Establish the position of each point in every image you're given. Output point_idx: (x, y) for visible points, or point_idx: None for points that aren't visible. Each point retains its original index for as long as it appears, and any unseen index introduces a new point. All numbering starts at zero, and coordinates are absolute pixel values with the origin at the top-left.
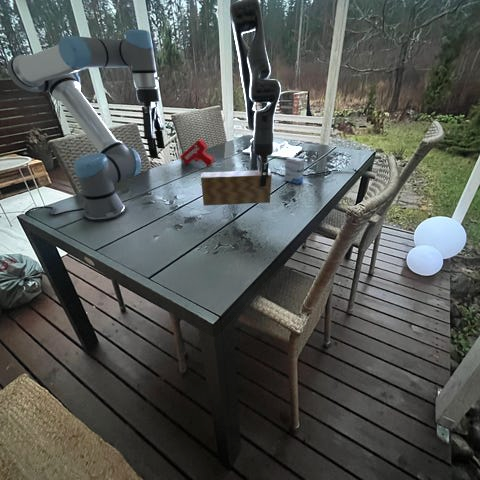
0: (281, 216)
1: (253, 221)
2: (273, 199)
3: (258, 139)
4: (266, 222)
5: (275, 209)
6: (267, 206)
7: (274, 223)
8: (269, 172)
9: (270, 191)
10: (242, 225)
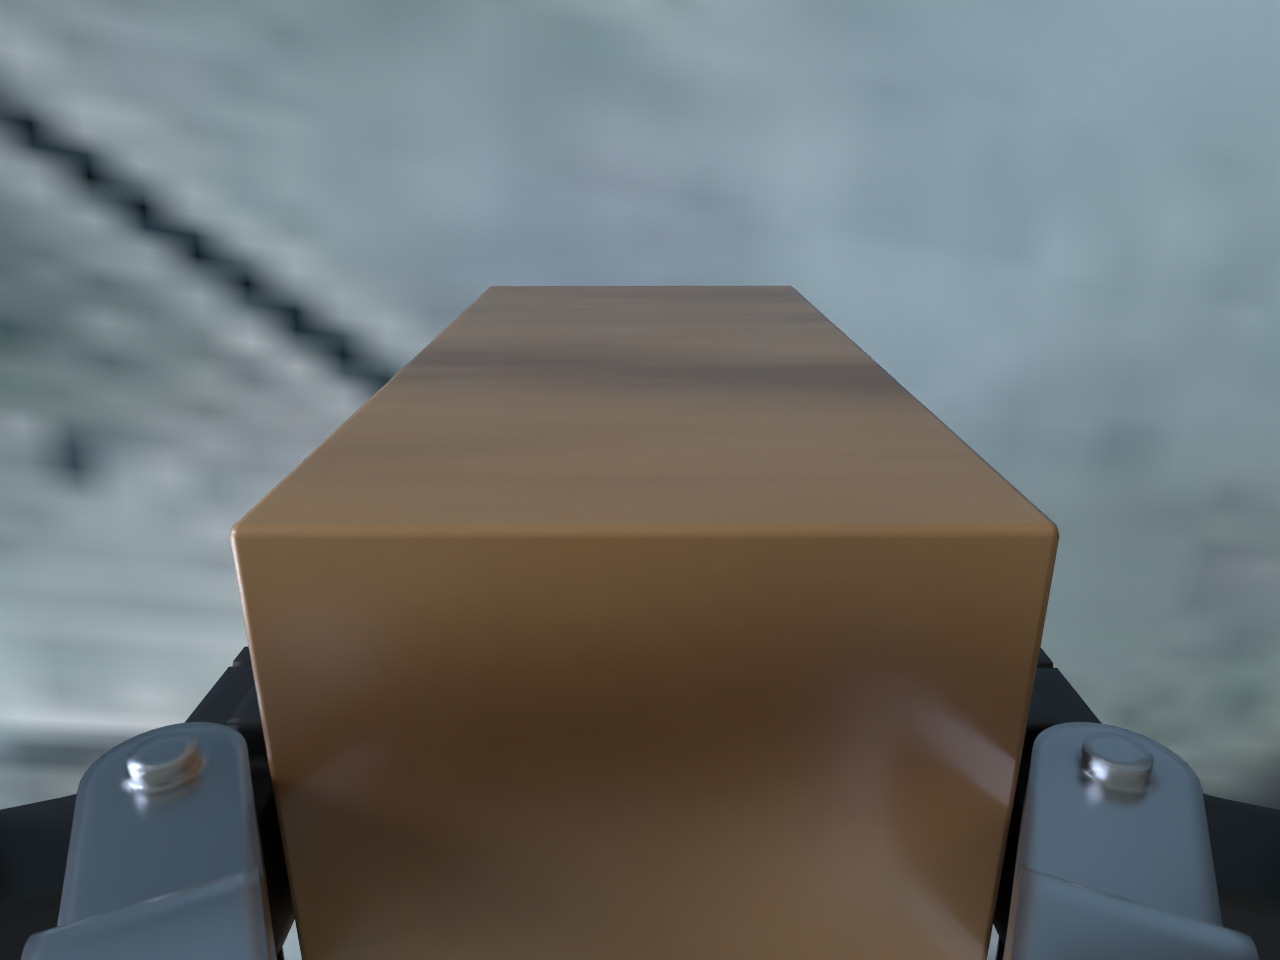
0: (1051, 82)
1: (1107, 577)
2: (282, 99)
3: None
4: (1194, 391)
5: (747, 145)
6: (605, 279)
7: (1266, 265)
8: (656, 575)
9: (853, 343)
10: (1181, 728)
